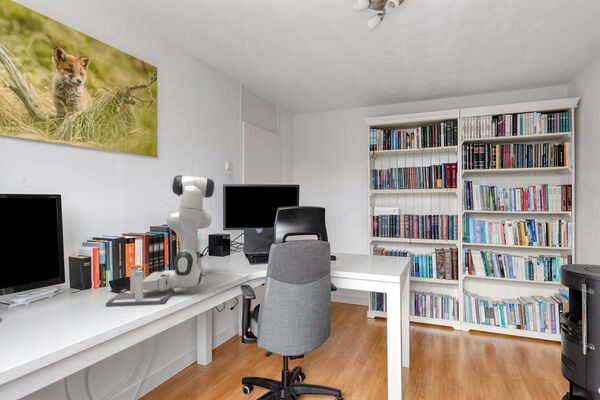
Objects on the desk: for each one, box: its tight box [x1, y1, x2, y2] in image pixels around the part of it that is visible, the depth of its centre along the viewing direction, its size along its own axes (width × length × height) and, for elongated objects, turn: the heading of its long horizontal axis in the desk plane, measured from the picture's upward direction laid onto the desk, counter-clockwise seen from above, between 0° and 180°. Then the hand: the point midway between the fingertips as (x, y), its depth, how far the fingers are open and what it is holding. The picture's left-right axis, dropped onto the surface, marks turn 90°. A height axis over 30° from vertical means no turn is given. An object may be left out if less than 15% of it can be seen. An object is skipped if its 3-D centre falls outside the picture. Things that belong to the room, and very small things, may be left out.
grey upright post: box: [129, 264, 139, 292], centre depth 154 cm, size 3×3×13 cm
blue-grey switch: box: [135, 270, 145, 301], centre depth 142 cm, size 3×3×13 cm
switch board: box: [105, 288, 175, 308], centre depth 148 cm, size 18×24×2 cm
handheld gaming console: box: [108, 276, 130, 295], centre depth 163 cm, size 12×7×10 cm
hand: (137, 280), depth 155 cm, fingers closed, pressing on grey upright post
